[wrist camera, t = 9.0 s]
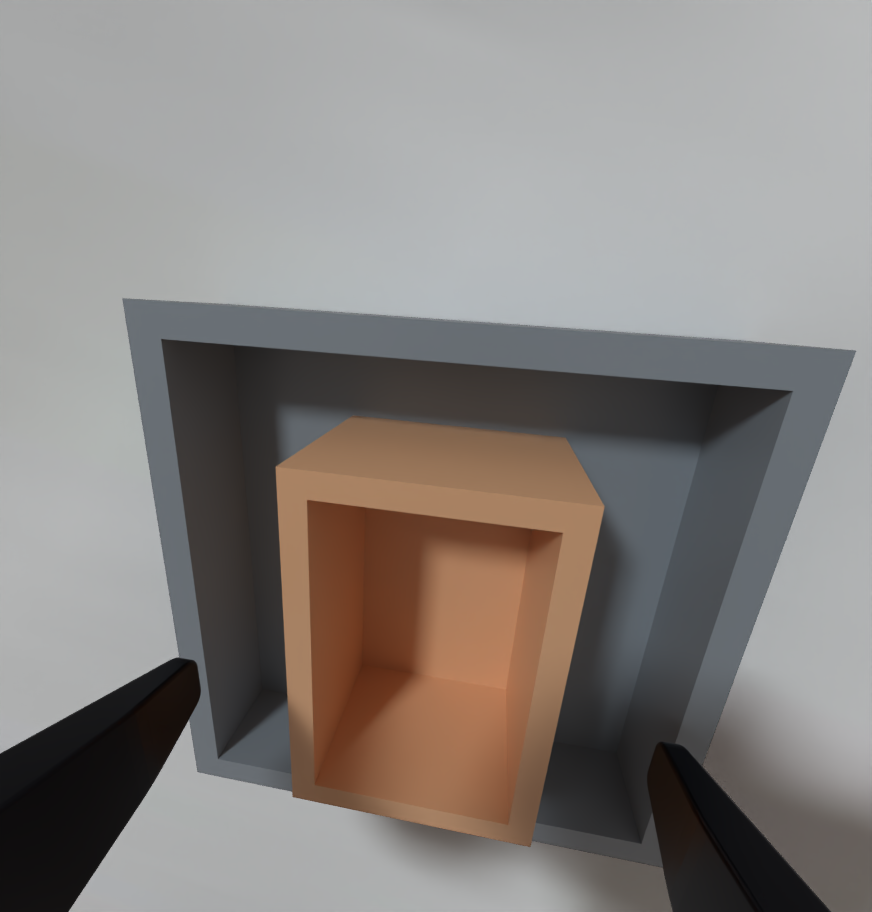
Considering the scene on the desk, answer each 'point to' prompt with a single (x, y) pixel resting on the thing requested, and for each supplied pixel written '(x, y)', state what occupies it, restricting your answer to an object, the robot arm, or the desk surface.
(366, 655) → the small crate
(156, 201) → the desk surface
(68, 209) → the desk surface
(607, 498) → the big crate
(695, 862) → the robot arm
